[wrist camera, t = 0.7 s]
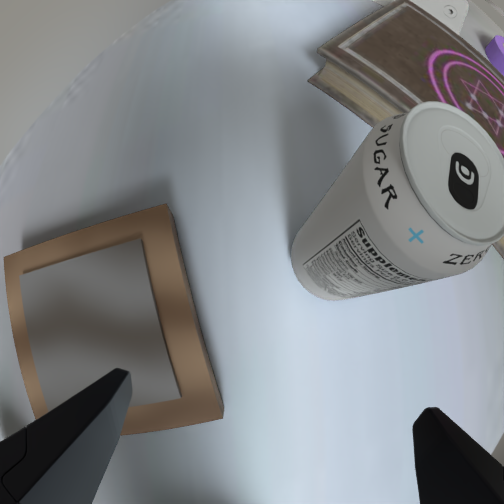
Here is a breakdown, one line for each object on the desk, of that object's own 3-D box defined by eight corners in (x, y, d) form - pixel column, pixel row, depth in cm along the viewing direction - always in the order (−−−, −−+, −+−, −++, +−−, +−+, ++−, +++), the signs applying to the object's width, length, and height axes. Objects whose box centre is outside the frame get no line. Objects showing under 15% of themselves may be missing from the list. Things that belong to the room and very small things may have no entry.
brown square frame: (224, 407, 19) (222, 421, 16) (58, 430, 18) (39, 440, 15) (173, 215, 22) (164, 200, 19) (21, 262, 20) (-1, 255, 18)
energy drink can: (376, 240, 23) (521, 148, 8) (351, 314, 21) (517, 296, 7) (306, 206, 23) (397, 59, 8) (275, 281, 21) (359, 203, 7)
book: (306, 84, 26) (317, 47, 21) (391, 19, 30) (403, -5, 26) (520, 286, 23) (553, 279, 18) (544, 164, 28) (565, 150, 23)
